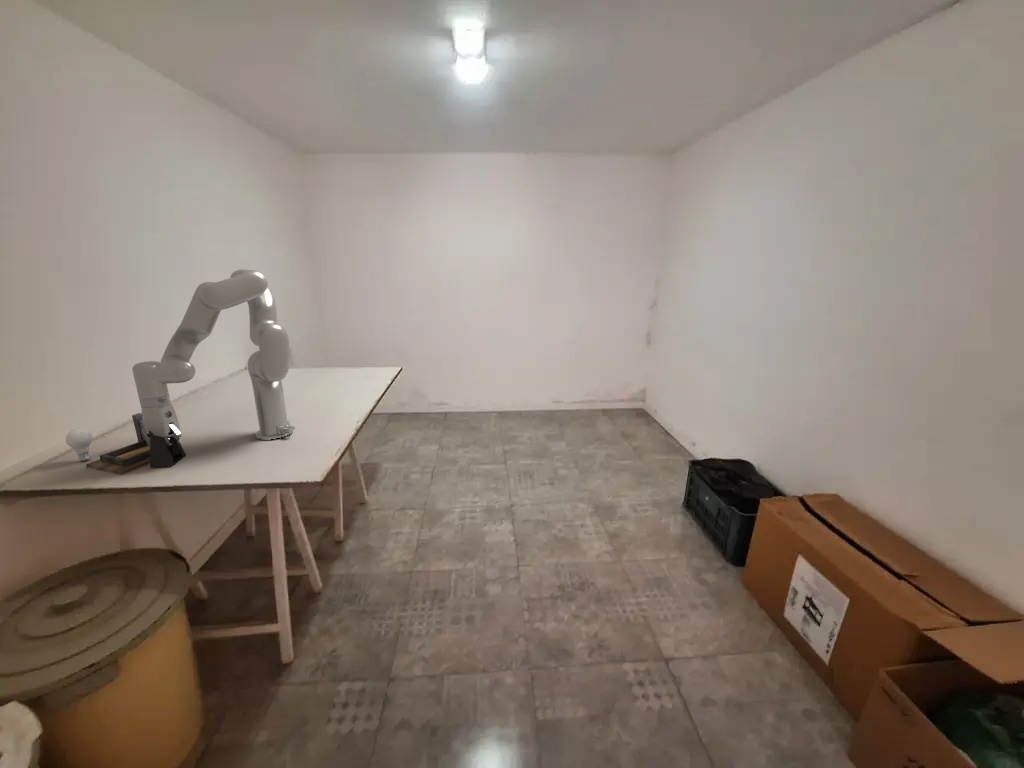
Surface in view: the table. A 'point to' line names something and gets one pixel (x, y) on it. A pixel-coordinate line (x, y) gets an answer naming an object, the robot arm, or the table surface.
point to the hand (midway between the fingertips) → (166, 453)
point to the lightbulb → (80, 442)
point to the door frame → (126, 453)
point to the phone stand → (163, 452)
